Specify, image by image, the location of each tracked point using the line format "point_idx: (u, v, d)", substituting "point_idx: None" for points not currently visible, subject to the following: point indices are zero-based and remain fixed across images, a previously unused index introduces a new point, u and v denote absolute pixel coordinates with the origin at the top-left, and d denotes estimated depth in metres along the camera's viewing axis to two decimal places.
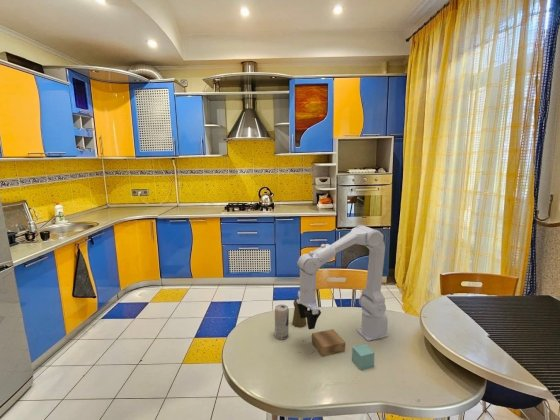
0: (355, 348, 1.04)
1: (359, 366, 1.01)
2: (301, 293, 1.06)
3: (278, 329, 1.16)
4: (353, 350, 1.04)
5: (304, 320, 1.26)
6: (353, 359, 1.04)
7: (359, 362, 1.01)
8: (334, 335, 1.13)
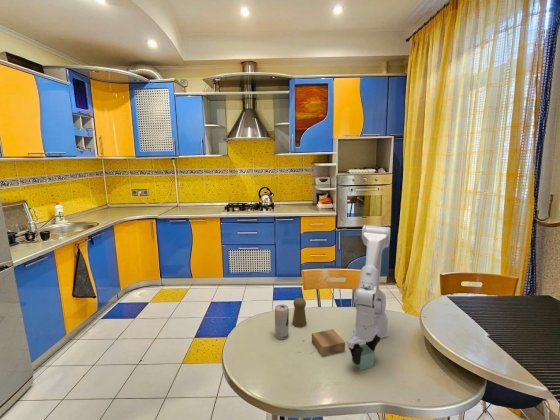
0: None
1: (359, 366, 1.01)
2: None
3: (278, 329, 1.16)
4: None
5: (304, 320, 1.26)
6: None
7: None
8: (334, 335, 1.13)
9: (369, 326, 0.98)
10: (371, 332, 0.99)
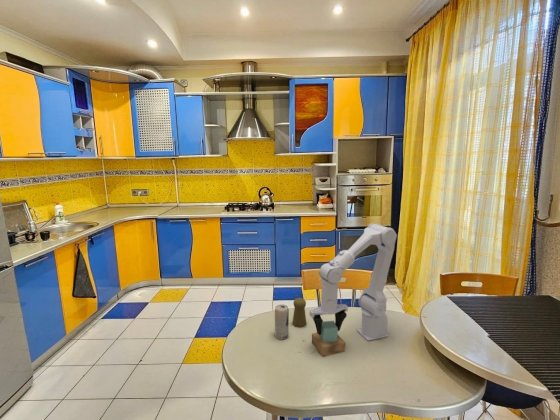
0: (322, 323, 1.12)
1: (322, 339, 1.10)
2: None
3: (278, 329, 1.16)
4: None
5: (304, 320, 1.26)
6: None
7: (323, 335, 1.09)
8: None
9: (330, 300, 1.06)
10: (333, 306, 1.07)
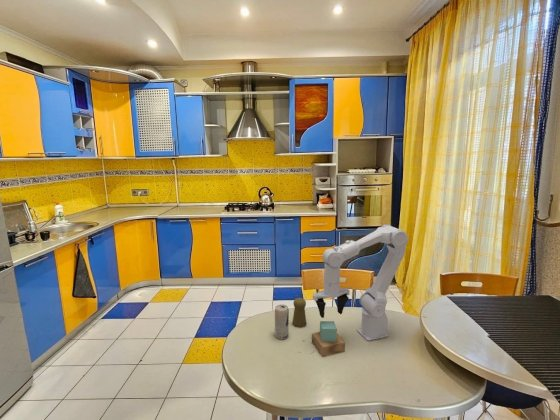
0: (321, 322, 1.13)
1: (321, 338, 1.10)
2: None
3: (278, 329, 1.16)
4: (320, 324, 1.13)
5: (304, 320, 1.26)
6: (320, 332, 1.13)
7: (321, 334, 1.09)
8: None
9: (333, 283, 1.10)
10: (335, 289, 1.11)
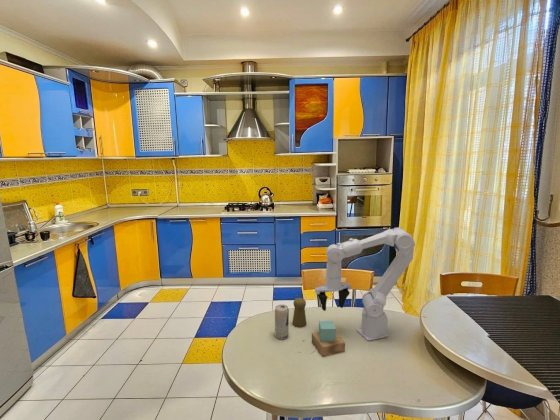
0: (320, 322, 1.13)
1: (320, 338, 1.10)
2: None
3: (278, 329, 1.16)
4: (319, 324, 1.13)
5: (304, 320, 1.26)
6: (319, 332, 1.13)
7: (320, 334, 1.09)
8: None
9: (334, 278, 1.15)
10: (337, 284, 1.16)
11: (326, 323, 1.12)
